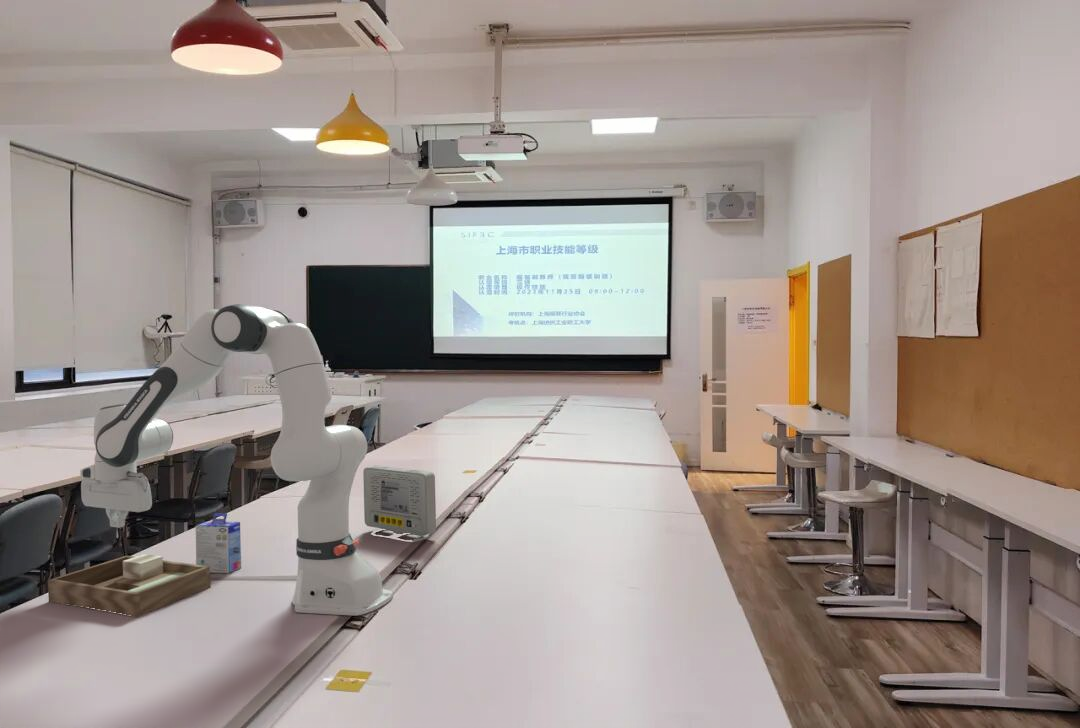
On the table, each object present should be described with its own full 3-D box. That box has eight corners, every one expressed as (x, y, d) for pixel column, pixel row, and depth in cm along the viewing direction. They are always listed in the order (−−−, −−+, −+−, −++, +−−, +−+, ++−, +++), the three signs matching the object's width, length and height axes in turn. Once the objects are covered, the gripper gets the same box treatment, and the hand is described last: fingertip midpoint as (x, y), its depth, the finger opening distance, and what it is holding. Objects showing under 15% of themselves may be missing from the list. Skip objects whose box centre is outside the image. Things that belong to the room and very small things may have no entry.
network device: (441, 537, 215) (439, 470, 214) (421, 545, 207) (419, 475, 207) (378, 527, 228) (377, 464, 228) (358, 533, 221) (356, 468, 220)
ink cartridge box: (243, 567, 189) (241, 512, 189) (229, 574, 184) (228, 517, 183) (209, 565, 191) (207, 511, 191) (195, 572, 186) (193, 516, 185)
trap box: (210, 587, 174) (209, 566, 174) (136, 617, 156) (135, 594, 156) (127, 574, 185) (126, 555, 185) (48, 601, 166) (47, 580, 166)
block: (163, 572, 176) (162, 556, 176) (141, 580, 171) (140, 563, 171) (145, 570, 179) (144, 554, 179) (123, 577, 173) (122, 561, 173)
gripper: (158, 471, 176) (159, 527, 177) (99, 465, 184) (100, 519, 184) (134, 475, 170) (136, 534, 171) (75, 470, 178) (76, 525, 178)
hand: (117, 526), depth 178 cm, fingers closed
